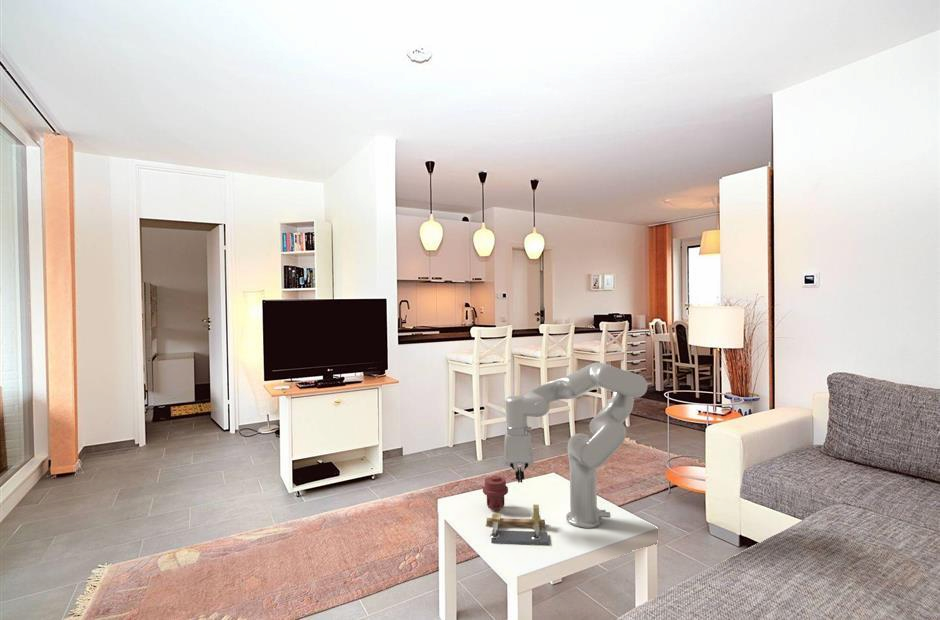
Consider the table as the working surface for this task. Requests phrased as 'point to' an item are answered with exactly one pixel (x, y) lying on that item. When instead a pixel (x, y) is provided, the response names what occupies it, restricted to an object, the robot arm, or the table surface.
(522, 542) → the hole plate
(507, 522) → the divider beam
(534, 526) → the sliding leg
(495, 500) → the mechanical component
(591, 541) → the table surface
